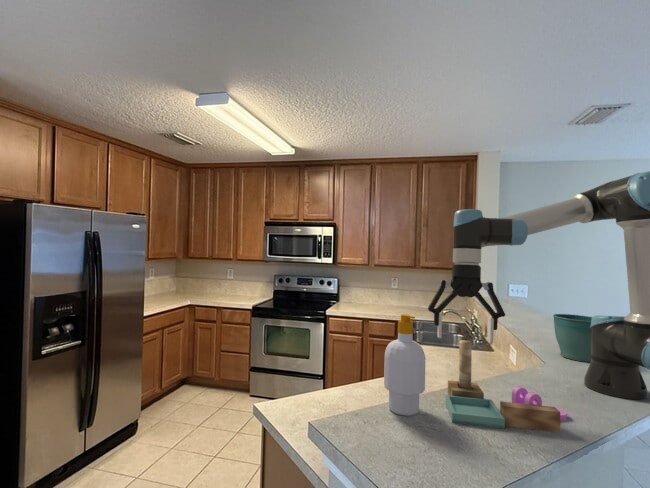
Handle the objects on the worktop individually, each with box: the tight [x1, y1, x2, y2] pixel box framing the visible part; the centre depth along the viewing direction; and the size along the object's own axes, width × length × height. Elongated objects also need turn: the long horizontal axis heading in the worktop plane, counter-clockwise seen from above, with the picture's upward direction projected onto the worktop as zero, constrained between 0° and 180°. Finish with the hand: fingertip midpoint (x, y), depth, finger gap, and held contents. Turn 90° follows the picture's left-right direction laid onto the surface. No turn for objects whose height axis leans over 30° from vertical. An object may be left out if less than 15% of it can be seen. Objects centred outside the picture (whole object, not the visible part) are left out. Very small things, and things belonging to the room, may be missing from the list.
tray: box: [444, 394, 506, 429], centre depth 88 cm, size 12×12×2 cm
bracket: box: [511, 385, 568, 422], centre depth 89 cm, size 13×6×7 cm, turn 103°
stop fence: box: [499, 401, 561, 433], centre depth 83 cm, size 12×3×4 cm, turn 79°
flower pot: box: [552, 313, 593, 363], centre depth 146 cm, size 18×18×17 cm
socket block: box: [447, 380, 485, 399], centre depth 98 cm, size 8×8×4 cm
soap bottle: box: [383, 313, 426, 417], centre depth 90 cm, size 10×10×24 cm
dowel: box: [458, 339, 473, 389], centre depth 98 cm, size 3×3×16 cm
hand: (464, 339), depth 99 cm, fingers open, 13 cm apart
